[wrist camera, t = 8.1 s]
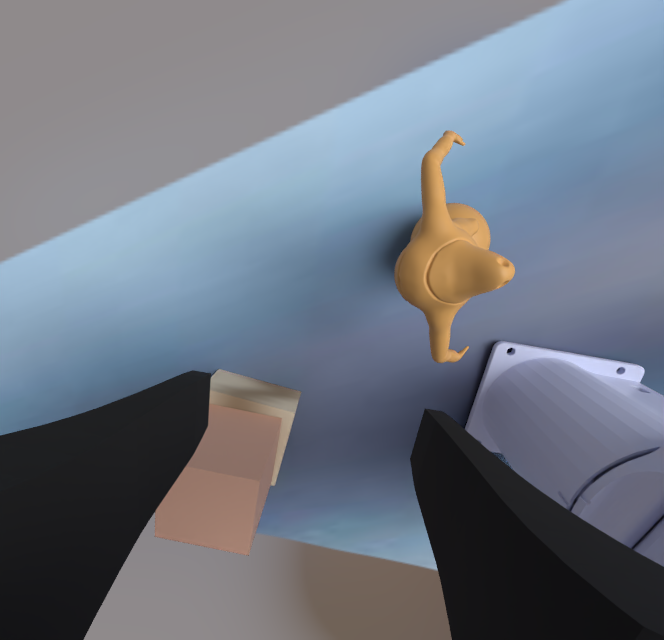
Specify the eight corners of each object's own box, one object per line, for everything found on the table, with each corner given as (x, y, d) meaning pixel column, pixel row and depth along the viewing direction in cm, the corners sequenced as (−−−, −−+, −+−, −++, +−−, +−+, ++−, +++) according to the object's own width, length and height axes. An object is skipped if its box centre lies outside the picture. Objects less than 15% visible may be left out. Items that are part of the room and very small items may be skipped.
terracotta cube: (282, 418, 19) (259, 481, 15) (271, 480, 21) (248, 555, 16) (204, 402, 19) (156, 460, 15) (199, 465, 21) (154, 536, 16)
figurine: (473, 304, 19) (652, 416, 8) (377, 315, 20) (415, 436, 9) (471, 159, 17) (720, 22, 6) (362, 176, 18) (388, 84, 6)
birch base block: (302, 389, 22) (295, 413, 19) (283, 455, 24) (274, 486, 21) (220, 366, 22) (201, 387, 19) (207, 434, 24) (188, 463, 21)
